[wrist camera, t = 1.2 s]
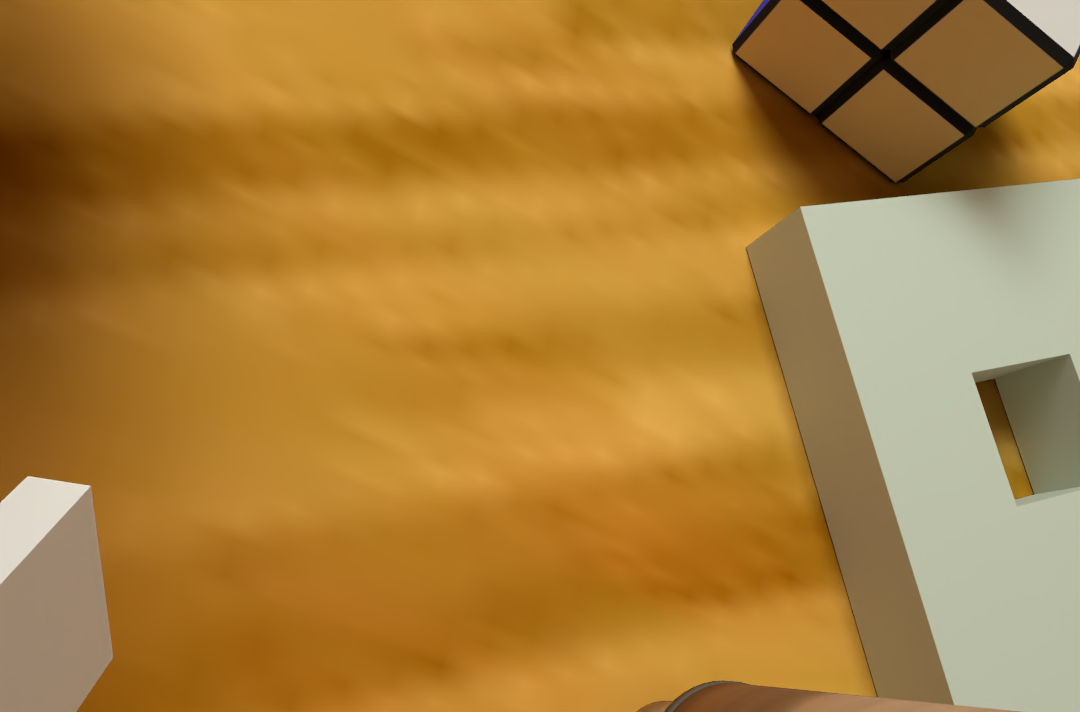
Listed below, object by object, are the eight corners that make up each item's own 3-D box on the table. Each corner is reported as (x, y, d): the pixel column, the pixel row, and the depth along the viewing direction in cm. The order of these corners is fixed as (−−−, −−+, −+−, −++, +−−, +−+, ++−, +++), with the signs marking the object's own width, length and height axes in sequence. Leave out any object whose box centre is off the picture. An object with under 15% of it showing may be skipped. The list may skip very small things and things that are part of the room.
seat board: (746, 247, 39) (799, 206, 35) (1028, 214, 44) (1100, 176, 41) (892, 744, 34) (970, 758, 31) (1183, 638, 40) (1279, 638, 36)
